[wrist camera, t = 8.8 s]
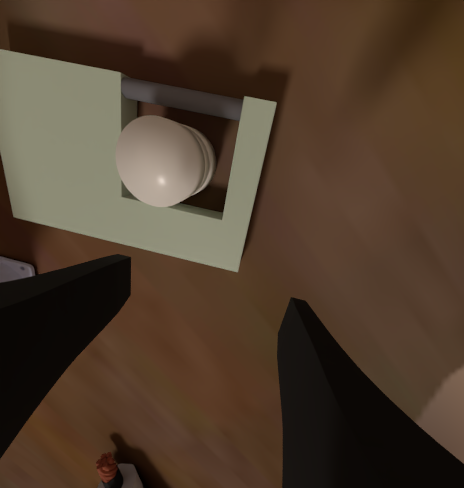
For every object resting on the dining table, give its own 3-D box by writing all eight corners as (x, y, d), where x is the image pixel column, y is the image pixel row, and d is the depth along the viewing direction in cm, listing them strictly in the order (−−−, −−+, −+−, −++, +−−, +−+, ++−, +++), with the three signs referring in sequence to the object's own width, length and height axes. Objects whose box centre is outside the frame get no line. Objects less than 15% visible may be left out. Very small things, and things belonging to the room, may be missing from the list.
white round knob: (152, 185, 19) (114, 195, 14) (157, 119, 17) (116, 105, 12) (209, 200, 19) (190, 215, 14) (222, 134, 17) (204, 127, 12)
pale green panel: (35, 211, 21) (13, 217, 20) (10, 56, 17) (-22, 44, 15) (240, 261, 20) (237, 272, 18) (275, 108, 15) (276, 102, 14)
